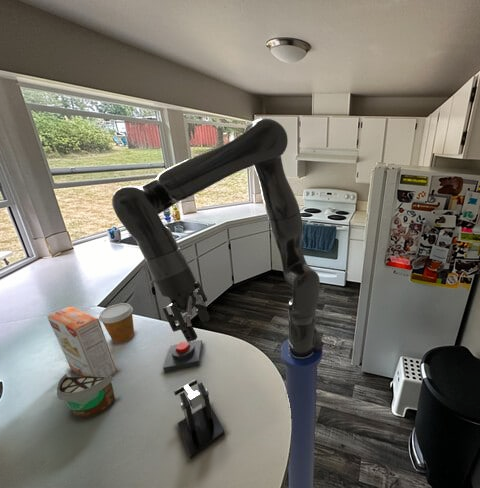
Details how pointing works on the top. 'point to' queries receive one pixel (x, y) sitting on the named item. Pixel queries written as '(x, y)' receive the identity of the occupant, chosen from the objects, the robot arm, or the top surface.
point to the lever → (191, 394)
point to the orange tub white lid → (118, 322)
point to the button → (182, 347)
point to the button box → (183, 357)
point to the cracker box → (82, 342)
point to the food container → (86, 394)
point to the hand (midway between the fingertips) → (200, 329)
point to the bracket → (199, 424)
